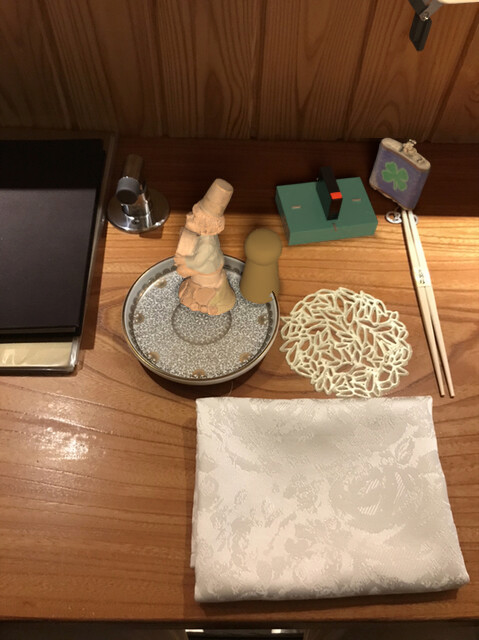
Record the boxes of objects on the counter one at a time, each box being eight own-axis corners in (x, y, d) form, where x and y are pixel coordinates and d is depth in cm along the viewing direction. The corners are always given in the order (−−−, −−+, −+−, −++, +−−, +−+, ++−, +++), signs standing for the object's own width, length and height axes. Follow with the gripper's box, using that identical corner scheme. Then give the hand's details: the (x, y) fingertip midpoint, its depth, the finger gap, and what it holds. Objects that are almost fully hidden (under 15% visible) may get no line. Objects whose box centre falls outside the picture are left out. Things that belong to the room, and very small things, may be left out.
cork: (233, 295, 82) (234, 247, 73) (247, 265, 86) (250, 215, 76) (271, 309, 81) (278, 262, 72) (285, 278, 84) (293, 229, 75)
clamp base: (355, 187, 95) (359, 173, 92) (375, 238, 89) (379, 224, 86) (274, 196, 93) (275, 182, 91) (289, 248, 88) (291, 235, 85)
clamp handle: (315, 188, 90) (319, 166, 86) (326, 187, 91) (331, 164, 87) (326, 220, 87) (331, 199, 83) (337, 219, 87) (343, 197, 83)
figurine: (238, 272, 85) (241, 173, 68) (234, 320, 80) (237, 225, 63) (179, 269, 85) (168, 168, 68) (172, 316, 80) (158, 220, 63)
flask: (365, 183, 95) (380, 132, 86) (376, 175, 97) (392, 123, 88) (409, 213, 92) (430, 163, 83) (419, 204, 93) (441, 154, 84)
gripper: (567, -134, 61) (501, 20, 76) (416, -127, 59) (378, 30, 74) (603, -104, 57) (526, 53, 72) (442, -95, 55) (397, 65, 70)
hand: (451, 41), depth 73 cm, fingers open, 9 cm apart
